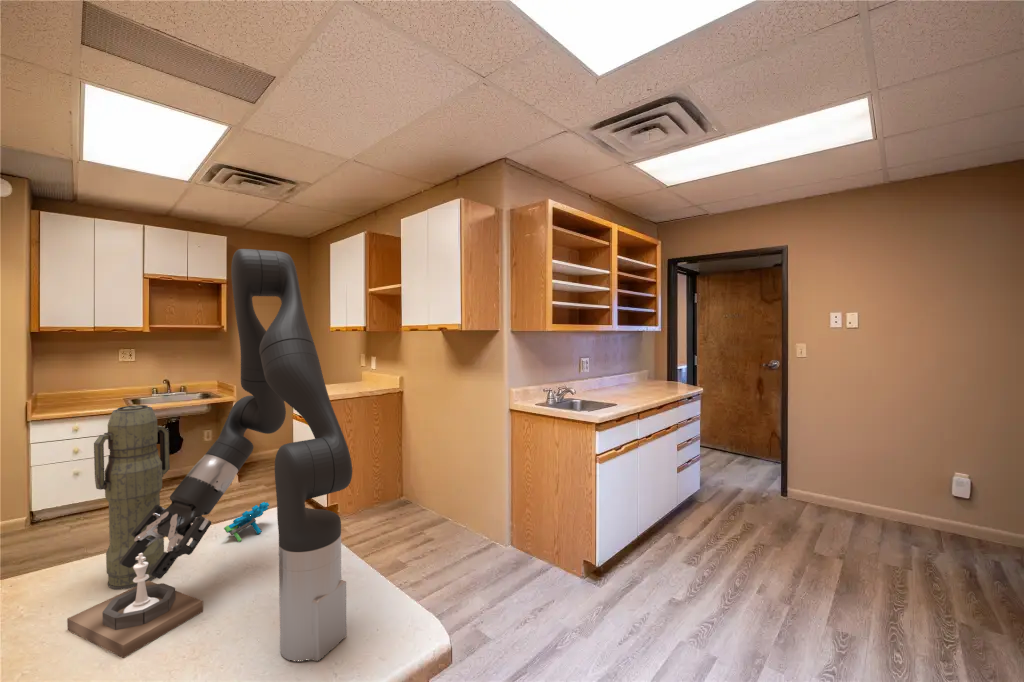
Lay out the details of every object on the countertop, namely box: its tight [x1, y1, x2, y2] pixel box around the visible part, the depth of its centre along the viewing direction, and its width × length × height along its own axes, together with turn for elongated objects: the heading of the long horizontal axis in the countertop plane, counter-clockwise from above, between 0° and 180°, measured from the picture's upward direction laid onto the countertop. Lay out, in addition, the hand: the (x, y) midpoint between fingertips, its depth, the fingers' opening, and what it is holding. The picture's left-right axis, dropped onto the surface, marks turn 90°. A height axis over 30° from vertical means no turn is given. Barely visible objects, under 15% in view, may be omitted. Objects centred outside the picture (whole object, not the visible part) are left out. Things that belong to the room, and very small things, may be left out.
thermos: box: [93, 404, 171, 590], centre depth 89 cm, size 9×12×35 cm
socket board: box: [66, 581, 204, 659], centre depth 76 cm, size 16×12×4 cm
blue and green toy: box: [223, 501, 270, 543], centre depth 109 cm, size 11×6×10 cm
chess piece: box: [123, 553, 159, 613], centre depth 76 cm, size 5×5×10 cm
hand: (139, 571), depth 76 cm, fingers open, 8 cm apart
